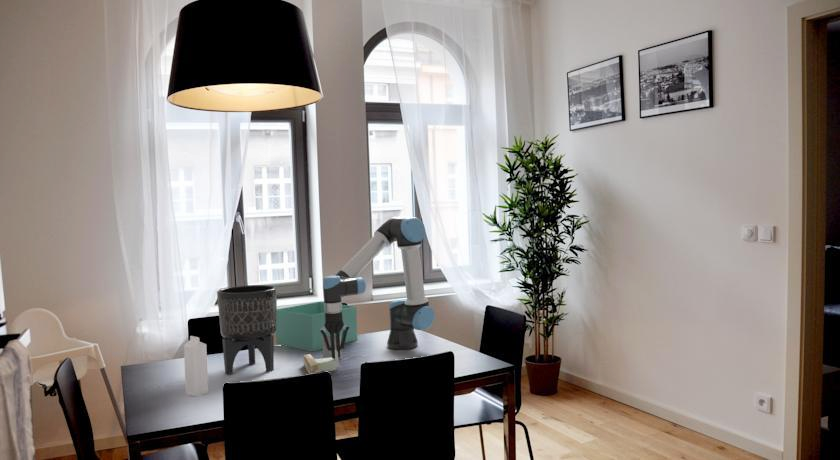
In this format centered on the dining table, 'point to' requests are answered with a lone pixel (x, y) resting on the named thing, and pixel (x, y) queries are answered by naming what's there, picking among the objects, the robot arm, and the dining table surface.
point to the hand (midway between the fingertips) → (336, 365)
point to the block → (326, 364)
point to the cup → (325, 351)
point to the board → (310, 364)
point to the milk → (195, 367)
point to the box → (310, 325)
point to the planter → (248, 322)
